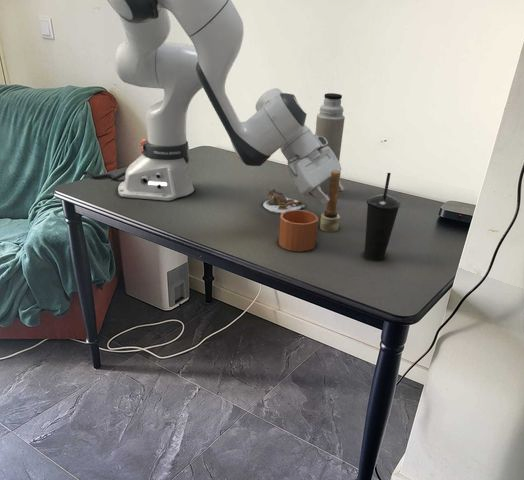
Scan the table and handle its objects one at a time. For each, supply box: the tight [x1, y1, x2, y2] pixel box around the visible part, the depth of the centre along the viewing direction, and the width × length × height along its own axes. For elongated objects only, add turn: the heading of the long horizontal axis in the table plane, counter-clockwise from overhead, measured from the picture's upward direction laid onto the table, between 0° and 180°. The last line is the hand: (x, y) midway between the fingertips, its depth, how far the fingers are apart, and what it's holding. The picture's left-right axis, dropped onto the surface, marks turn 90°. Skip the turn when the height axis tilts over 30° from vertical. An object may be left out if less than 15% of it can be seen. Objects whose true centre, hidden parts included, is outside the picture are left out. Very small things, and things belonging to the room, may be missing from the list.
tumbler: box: [278, 209, 319, 252], centre depth 127 cm, size 9×9×7 cm
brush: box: [319, 170, 342, 233], centre depth 134 cm, size 5×5×15 cm
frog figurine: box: [262, 188, 306, 214], centre depth 149 cm, size 12×12×4 cm
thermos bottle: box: [309, 92, 346, 195], centre depth 153 cm, size 8×8×28 cm
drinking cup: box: [363, 172, 402, 261], centre depth 120 cm, size 8×8×20 cm
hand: (334, 197), depth 133 cm, fingers open, 8 cm apart
